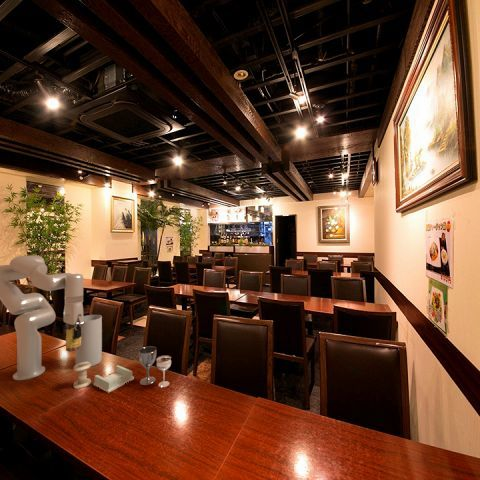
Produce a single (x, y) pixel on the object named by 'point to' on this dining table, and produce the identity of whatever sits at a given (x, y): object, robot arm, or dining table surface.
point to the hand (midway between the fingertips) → (73, 335)
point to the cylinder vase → (90, 340)
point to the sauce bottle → (72, 339)
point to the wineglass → (163, 368)
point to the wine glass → (147, 362)
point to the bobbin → (82, 375)
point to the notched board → (114, 379)
